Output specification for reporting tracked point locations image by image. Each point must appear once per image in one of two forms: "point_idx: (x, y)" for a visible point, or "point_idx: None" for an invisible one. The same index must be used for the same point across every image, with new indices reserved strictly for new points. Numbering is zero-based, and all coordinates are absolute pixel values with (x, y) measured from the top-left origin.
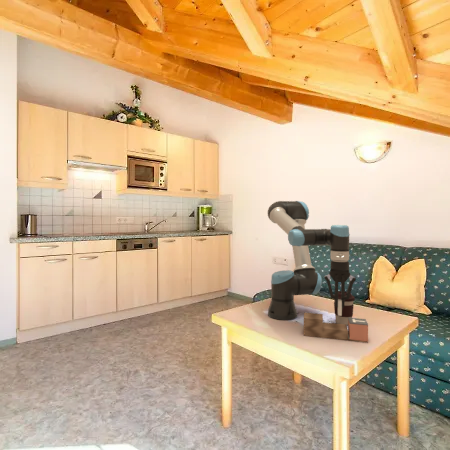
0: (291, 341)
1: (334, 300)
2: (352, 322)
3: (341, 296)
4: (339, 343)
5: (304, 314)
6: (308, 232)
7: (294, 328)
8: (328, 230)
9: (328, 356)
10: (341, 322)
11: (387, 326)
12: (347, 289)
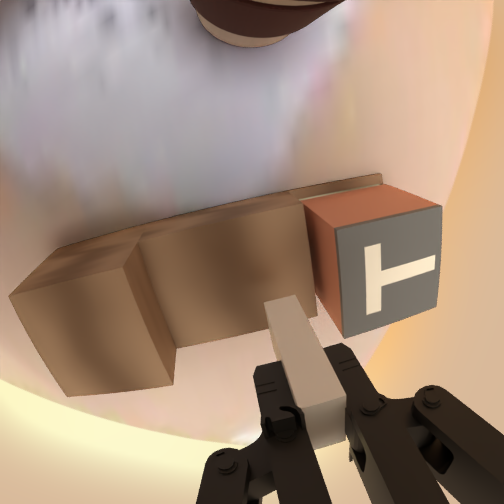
0: (91, 398)
1: None
2: (361, 323)
3: (362, 437)
4: (266, 338)
5: (31, 338)
6: None
7: (19, 263)
8: None
9: (245, 437)
10: (242, 44)
11: (453, 4)
12: (487, 472)
